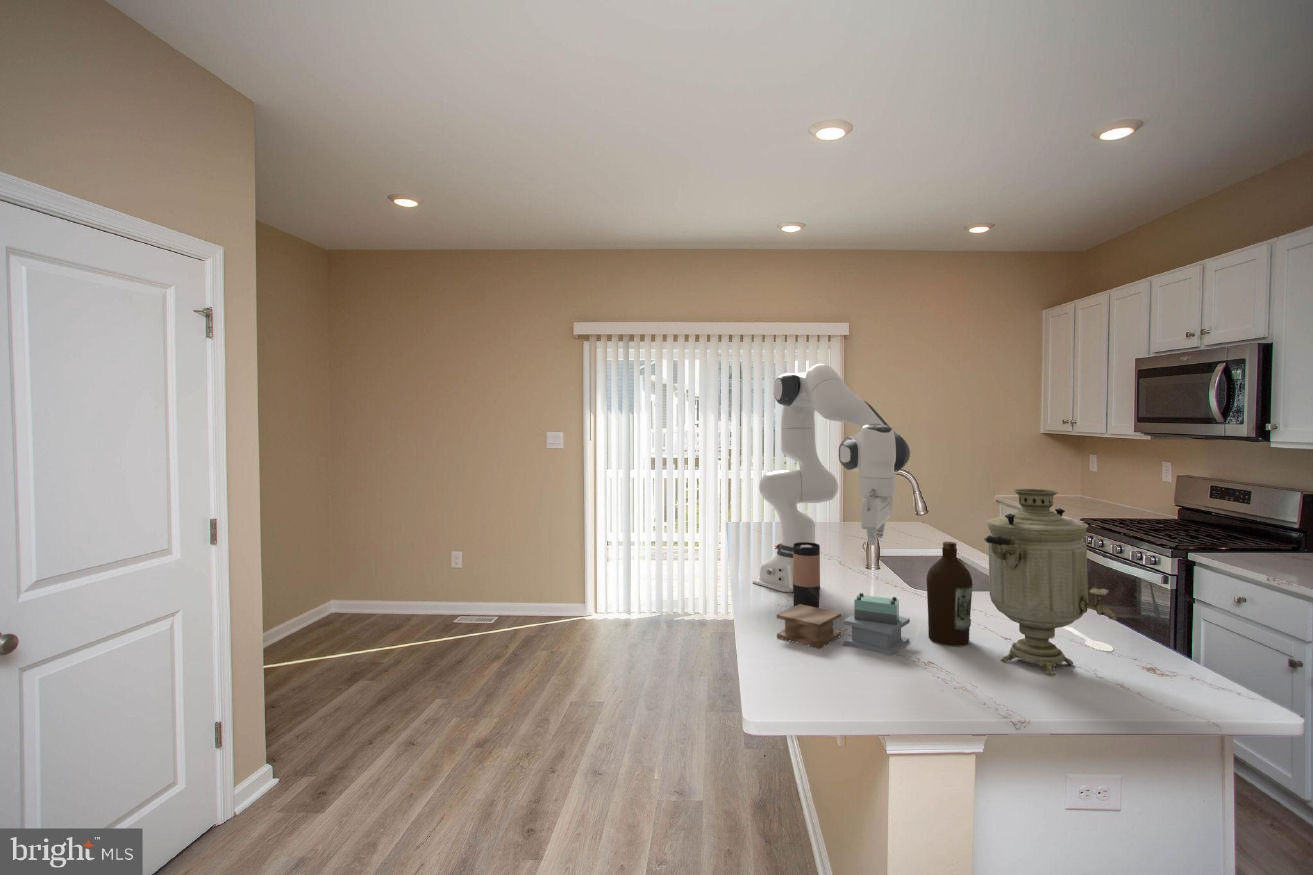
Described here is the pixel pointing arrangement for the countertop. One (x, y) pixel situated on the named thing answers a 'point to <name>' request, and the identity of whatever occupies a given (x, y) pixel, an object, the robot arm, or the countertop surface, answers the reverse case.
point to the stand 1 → (809, 625)
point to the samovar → (1039, 575)
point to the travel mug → (806, 574)
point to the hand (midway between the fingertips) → (876, 541)
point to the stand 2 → (876, 635)
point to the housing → (876, 609)
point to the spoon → (1091, 641)
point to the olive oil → (949, 599)
